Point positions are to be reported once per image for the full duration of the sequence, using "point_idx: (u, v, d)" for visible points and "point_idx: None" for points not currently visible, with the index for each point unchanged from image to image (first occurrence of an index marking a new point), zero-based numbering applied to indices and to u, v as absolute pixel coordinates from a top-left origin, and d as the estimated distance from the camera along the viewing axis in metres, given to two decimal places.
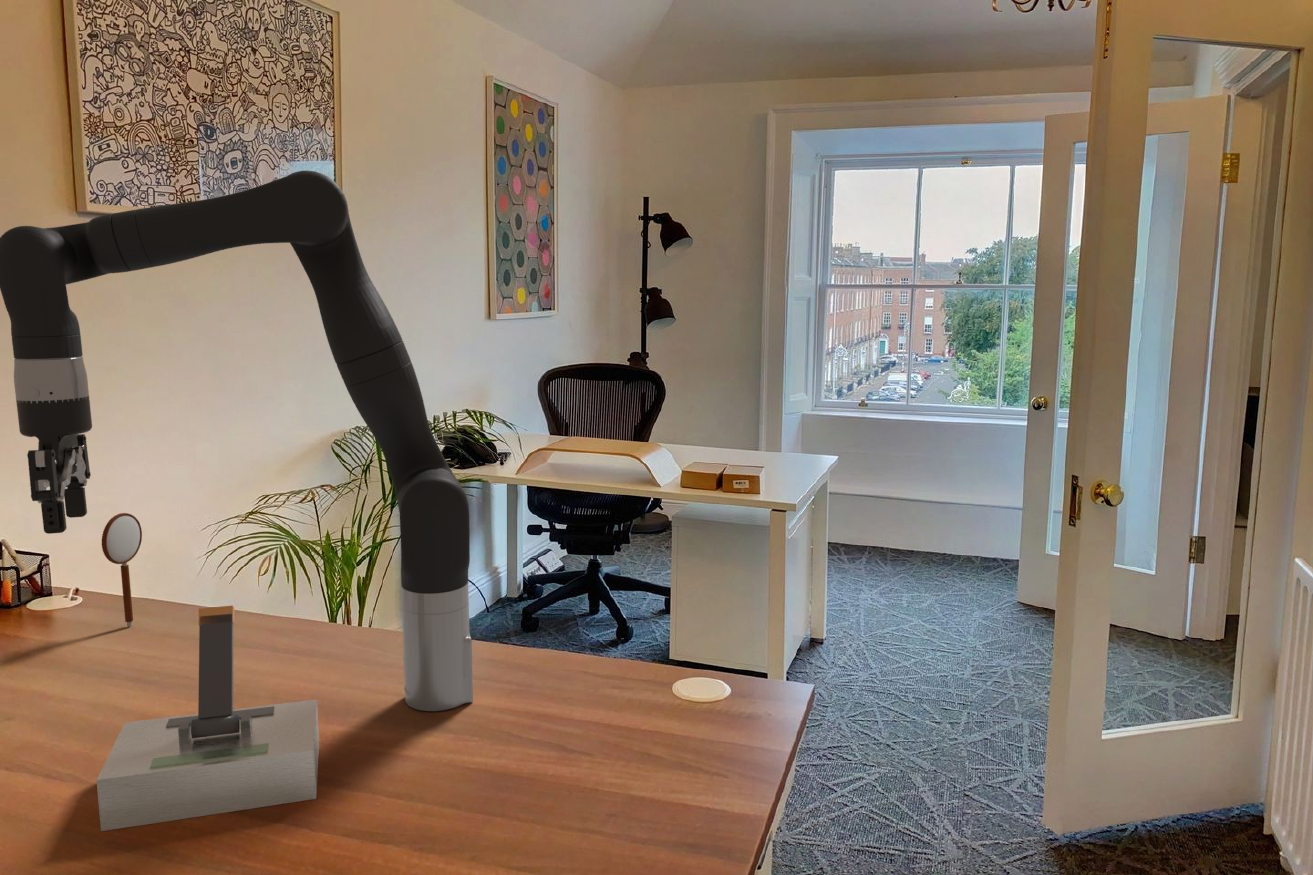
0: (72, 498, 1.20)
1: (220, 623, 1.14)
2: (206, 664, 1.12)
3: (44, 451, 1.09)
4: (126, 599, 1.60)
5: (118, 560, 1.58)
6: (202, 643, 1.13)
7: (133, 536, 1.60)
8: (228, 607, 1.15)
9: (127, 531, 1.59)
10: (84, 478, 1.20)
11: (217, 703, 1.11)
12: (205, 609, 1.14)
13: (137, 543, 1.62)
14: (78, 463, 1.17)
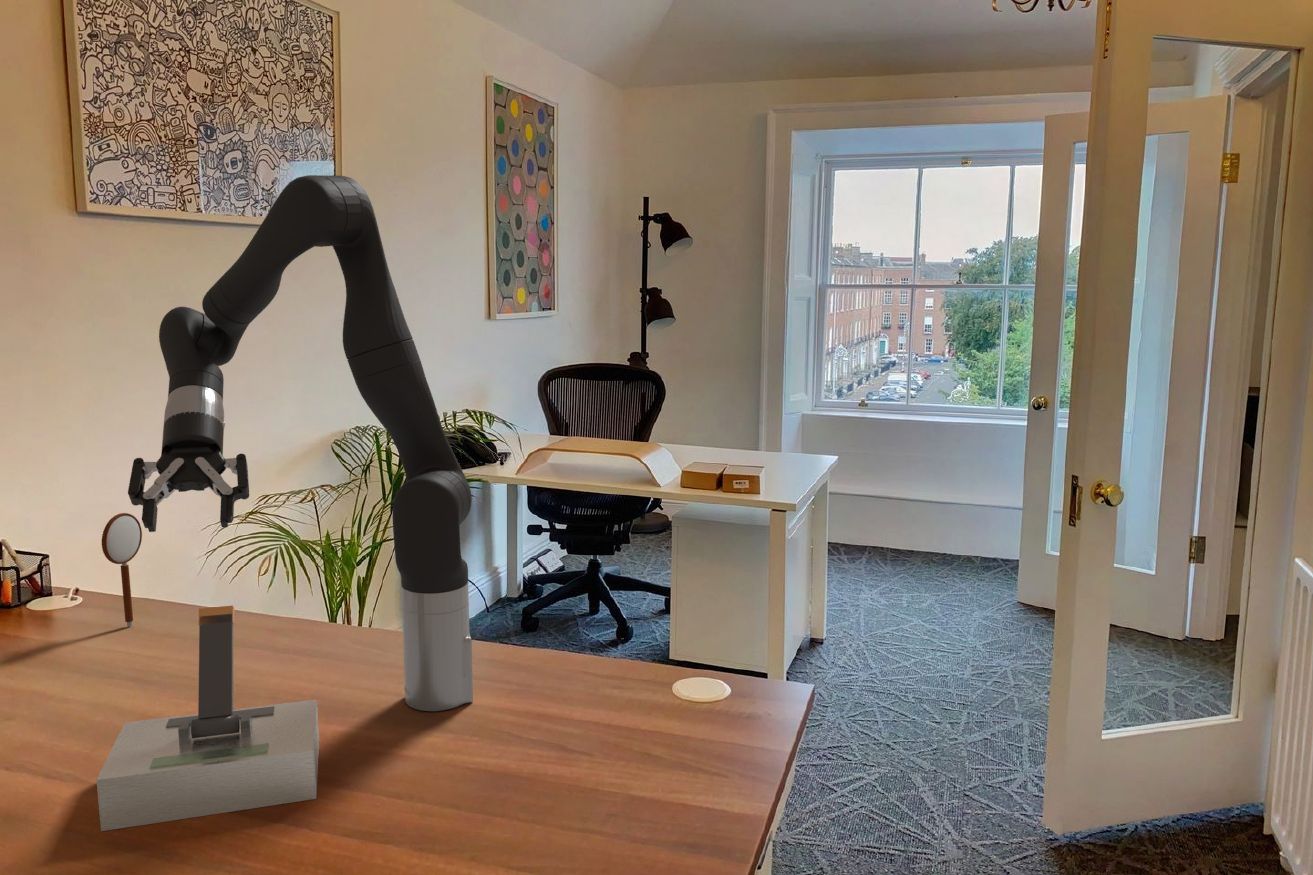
0: None
1: (220, 623, 1.14)
2: (206, 664, 1.12)
3: None
4: (126, 599, 1.60)
5: (118, 560, 1.58)
6: (202, 643, 1.13)
7: (133, 536, 1.60)
8: (228, 607, 1.15)
9: (127, 531, 1.59)
10: (226, 488, 1.24)
11: (217, 703, 1.11)
12: (205, 609, 1.14)
13: (137, 543, 1.62)
14: (204, 472, 1.25)
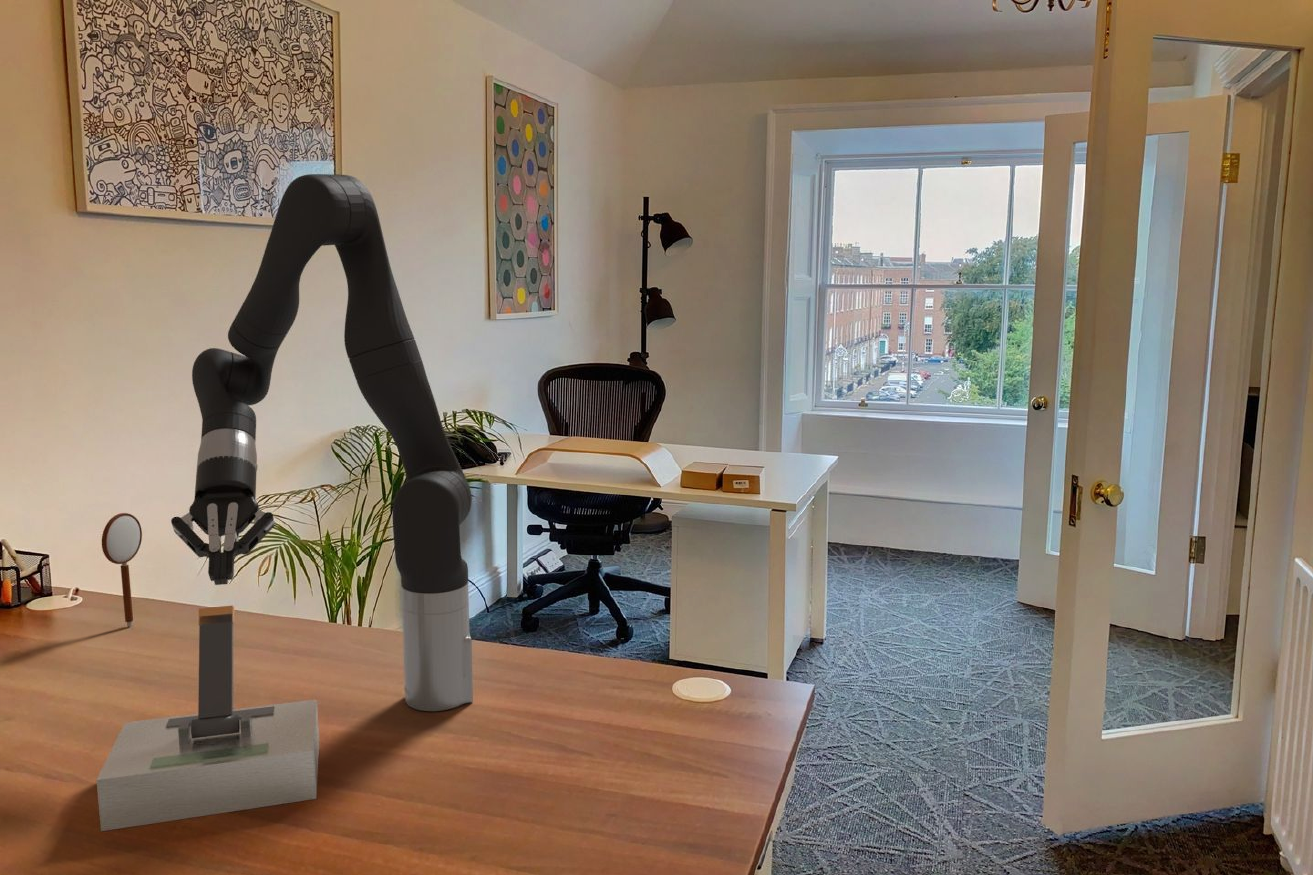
0: None
1: (220, 623, 1.14)
2: (206, 664, 1.12)
3: (172, 523, 1.22)
4: (126, 599, 1.60)
5: (118, 560, 1.58)
6: (202, 643, 1.13)
7: (133, 536, 1.60)
8: (228, 607, 1.15)
9: (127, 531, 1.59)
10: (226, 543, 1.22)
11: (217, 703, 1.11)
12: (205, 609, 1.14)
13: (137, 543, 1.62)
14: (227, 518, 1.23)
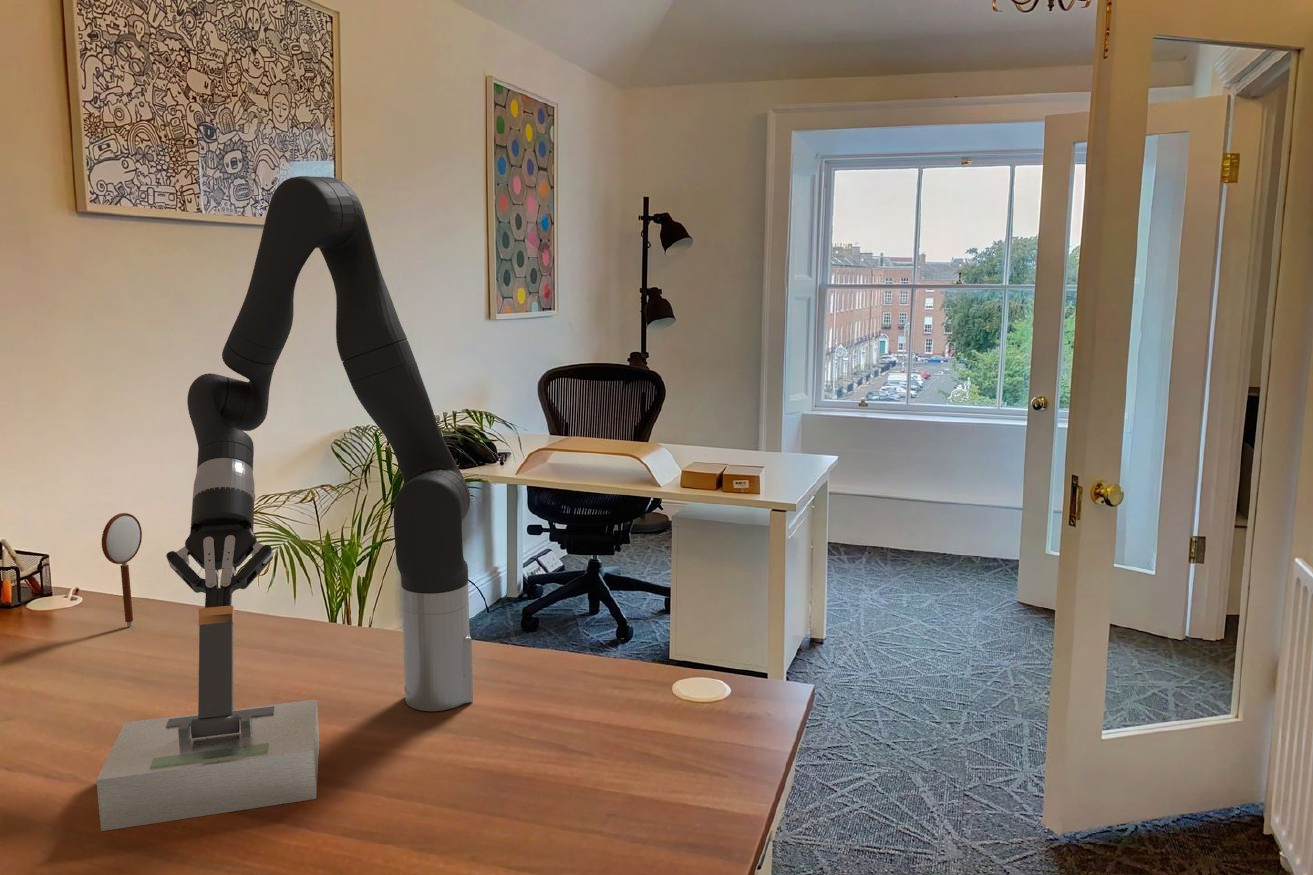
0: None
1: (220, 623, 1.14)
2: (206, 664, 1.12)
3: None
4: (126, 599, 1.60)
5: (118, 560, 1.58)
6: (202, 643, 1.12)
7: (133, 536, 1.60)
8: (228, 607, 1.15)
9: (127, 531, 1.59)
10: (223, 578, 1.18)
11: (217, 703, 1.11)
12: (205, 609, 1.14)
13: (137, 543, 1.62)
14: (224, 552, 1.20)
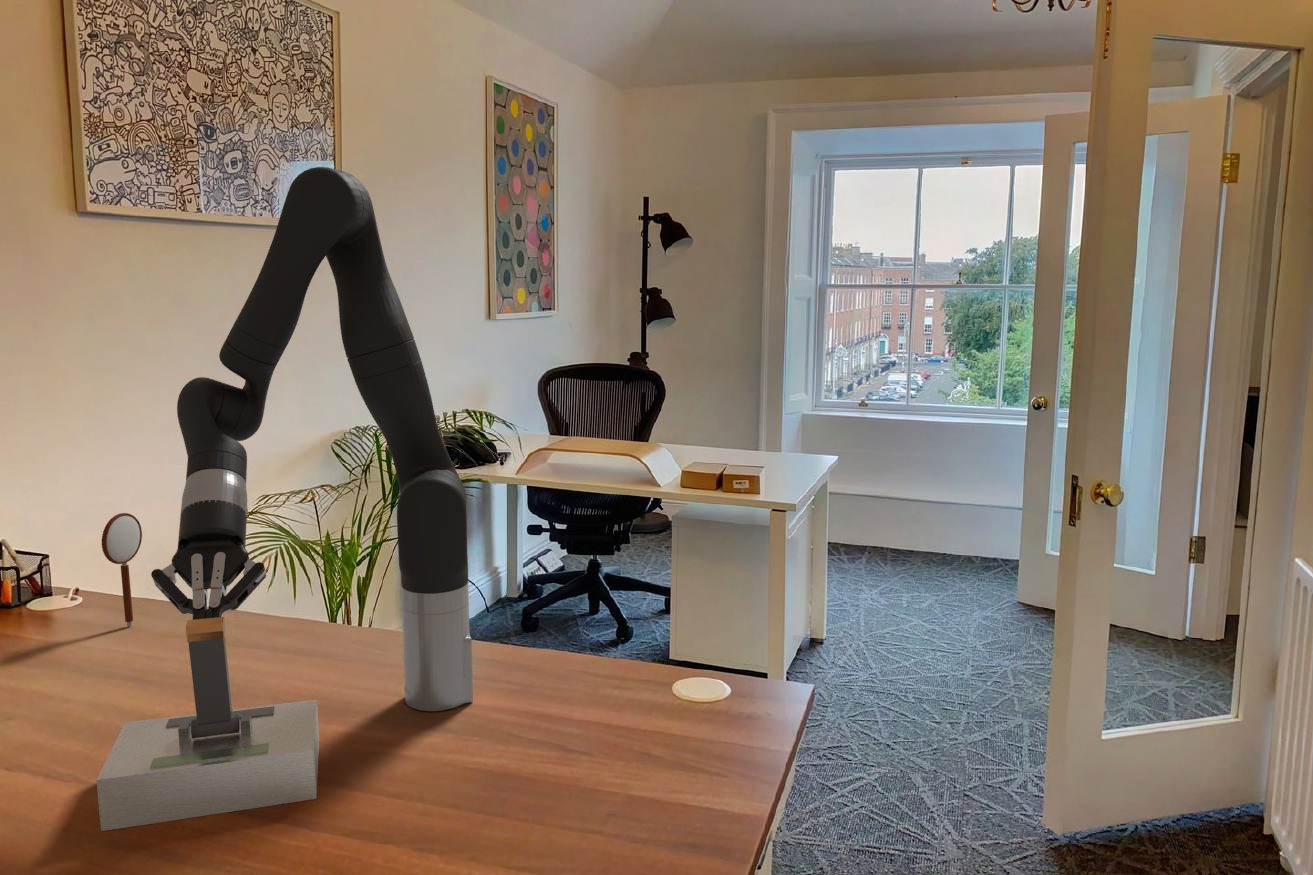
0: None
1: (211, 640, 1.06)
2: (200, 677, 1.07)
3: None
4: (126, 599, 1.60)
5: (118, 560, 1.58)
6: (193, 659, 1.06)
7: (133, 536, 1.60)
8: (218, 625, 1.06)
9: (127, 531, 1.59)
10: (212, 599, 1.10)
11: (215, 711, 1.09)
12: (193, 627, 1.05)
13: (137, 543, 1.62)
14: (213, 570, 1.11)
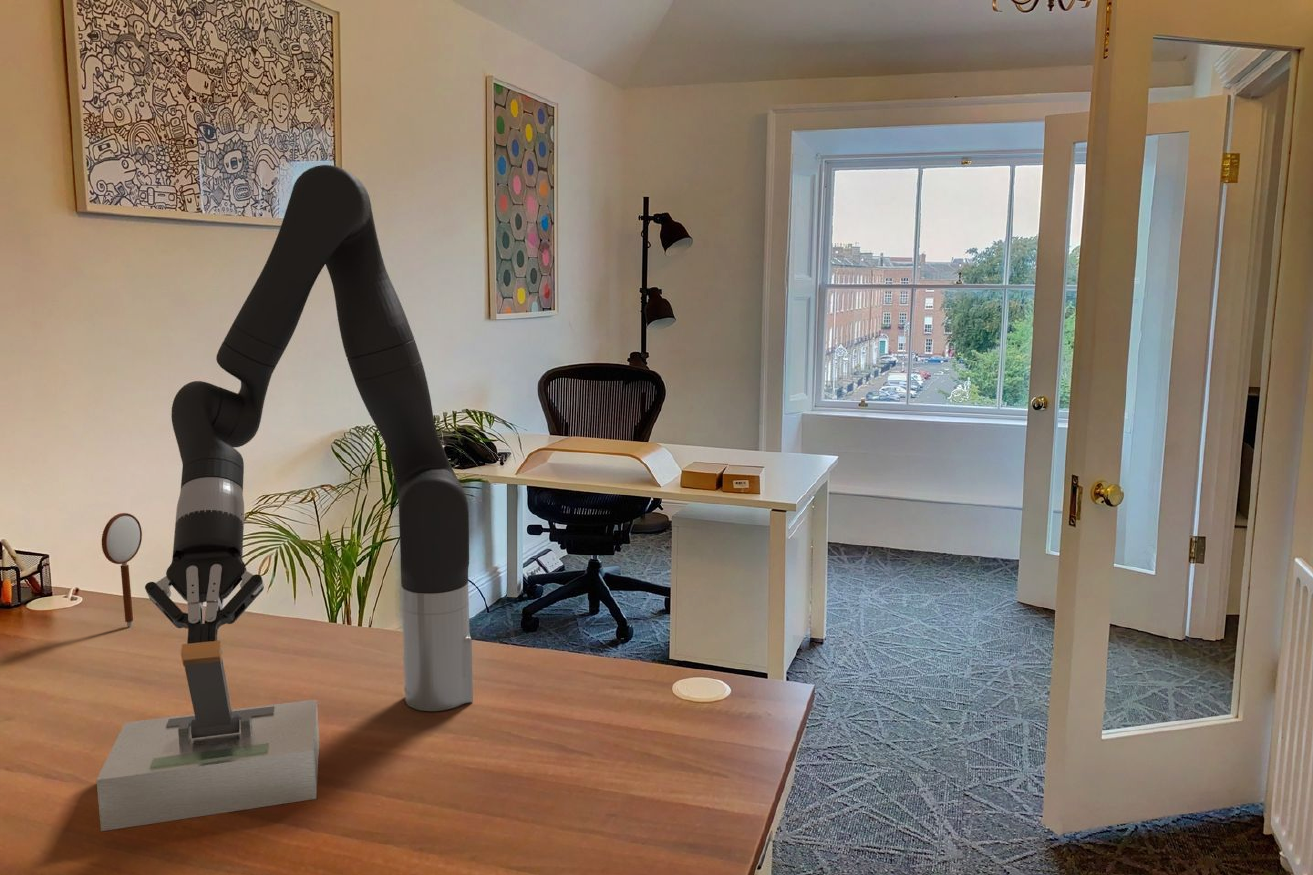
0: None
1: (207, 664, 1.03)
2: (198, 693, 1.05)
3: None
4: (126, 599, 1.60)
5: (118, 560, 1.58)
6: (190, 679, 1.04)
7: (133, 536, 1.60)
8: (214, 651, 1.02)
9: (127, 531, 1.59)
10: (208, 613, 1.06)
11: (214, 717, 1.09)
12: (188, 654, 1.01)
13: (137, 543, 1.62)
14: (209, 583, 1.08)
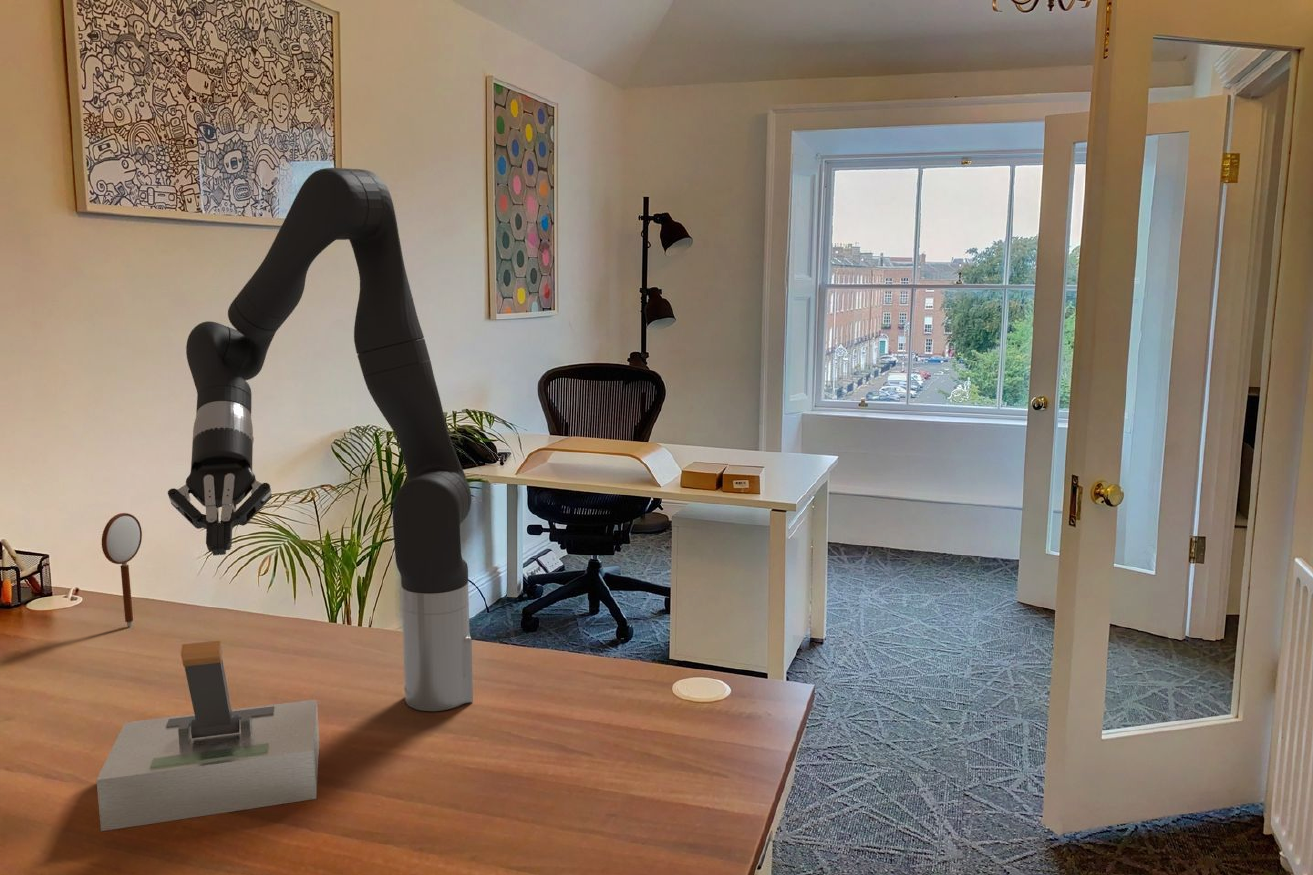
0: None
1: (207, 664, 1.03)
2: (198, 693, 1.05)
3: None
4: (126, 599, 1.60)
5: (118, 560, 1.58)
6: (190, 679, 1.04)
7: (133, 536, 1.60)
8: (214, 652, 1.02)
9: (127, 531, 1.59)
10: (224, 514, 1.21)
11: (215, 717, 1.09)
12: (188, 654, 1.01)
13: (137, 543, 1.62)
14: (223, 489, 1.23)
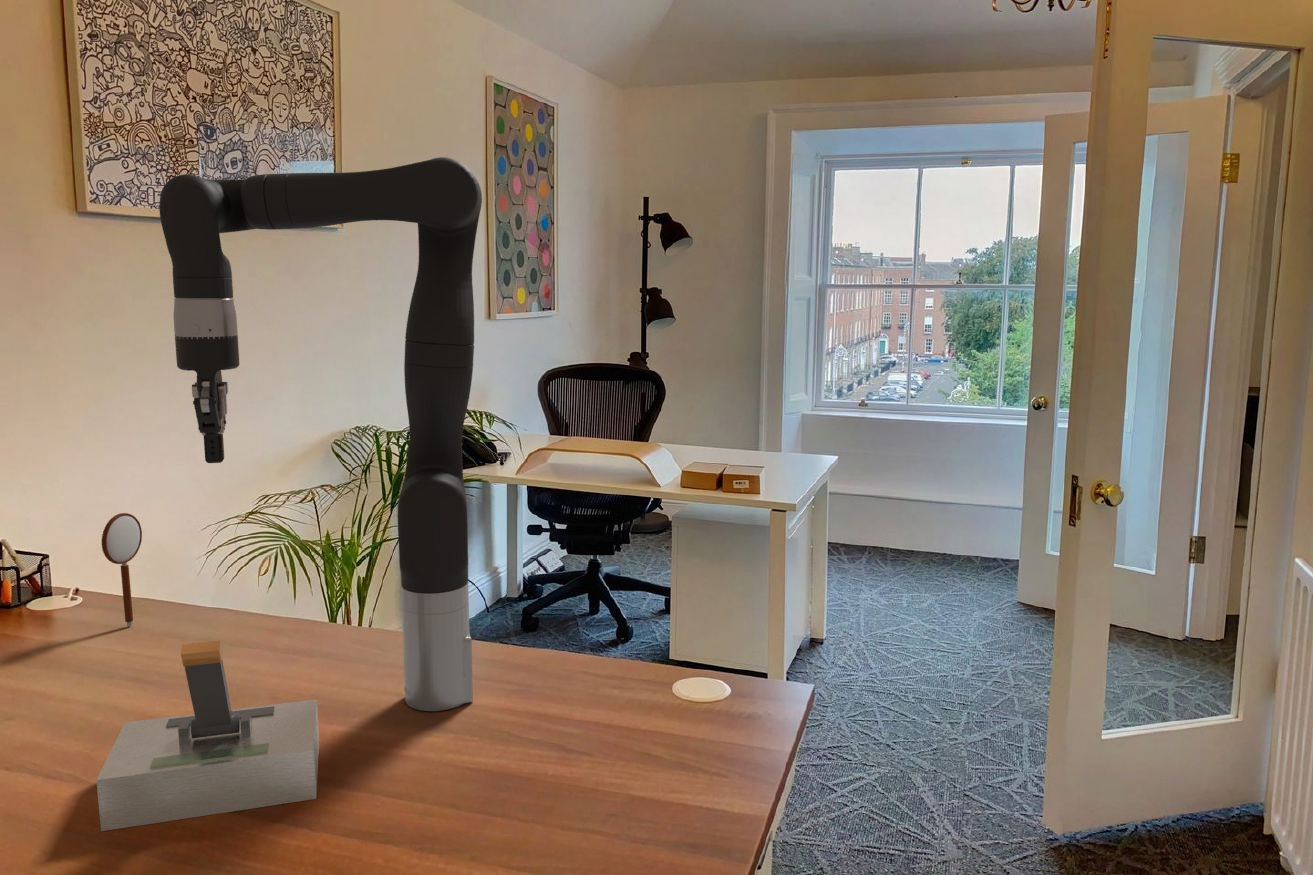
0: None
1: (207, 664, 1.03)
2: (198, 693, 1.05)
3: (208, 402, 1.19)
4: (126, 599, 1.60)
5: (118, 560, 1.58)
6: (190, 679, 1.04)
7: (133, 536, 1.60)
8: (214, 652, 1.02)
9: (127, 531, 1.59)
10: (223, 425, 1.26)
11: (215, 717, 1.09)
12: (188, 654, 1.01)
13: (137, 543, 1.62)
14: (223, 398, 1.26)
